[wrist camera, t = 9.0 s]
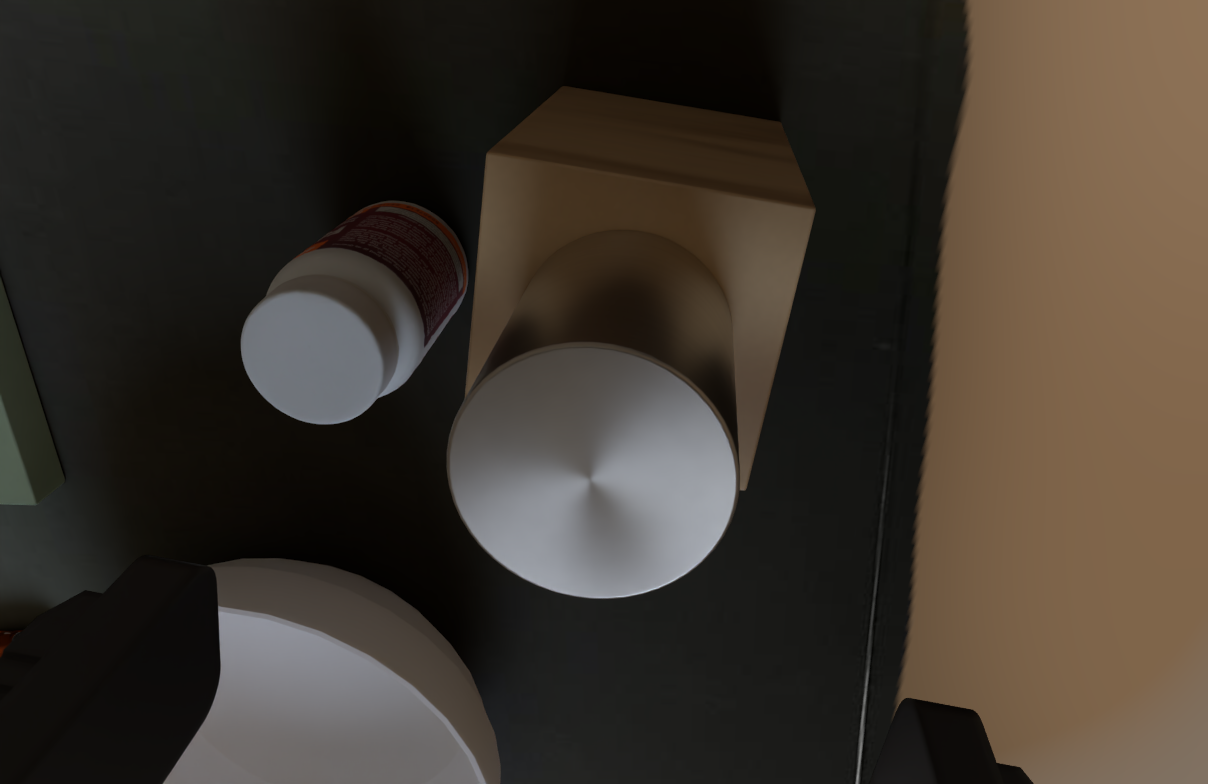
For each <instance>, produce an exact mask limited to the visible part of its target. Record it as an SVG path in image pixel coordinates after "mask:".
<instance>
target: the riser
mask: <svg viewBox="0 0 1208 784" xmlns="http://www.w3.org/2000/svg"><path fill="white" fill-rule="evenodd" d="M815 211H816V209H815V206H814V203H813V201H812V198H811V196H810V193H809V191H808V188H807V186H806V183H805V181H804V179H803V176H802V174H801V171H800V169H799V166H798V164H797V161H796V159H795V156H794V154H793V151H792V149H791V147H790V144H789V142H788V139H787V137H786V134H785V132H784V129H783V127H782V124H781V122H778V121H772V120H766V119H760V118H754V117H748V116H742V115H736V114H730V113H724V112H718V111H712V110H706V109H700V108H694V107H688V106H682V105H676V104H670V103H664V102H658V101H652V100H646V99H640V98H634V97H628V96H622V95H616V94H610V93H604V92H598V91H592V90H586V89H580V88H574V87H568V86H562V87H561V88H560V89H559V90H558V91H557V92H555V93H554V94H553V95H552V96H551V97H550V98H549V99H547V100H546V101H545V102H544V103H543V104H542V105H541V106H539V107H538V108H537V109H536V110H535V111H534V112H533V113H531V114H530V115H529V116H528V117H527V118H526V119H525V120H523V121H522V122H521V123H520V124H519V125H518V126H517V127H515V128H514V129H513V130H512V131H511V132H510V133H509V134H507V135H506V136H505V137H504V138H503V139H502V140H501V141H499V142H498V143H497V144H496V145H495V146H494V147H493V148H491V149H490V150H489V151H488V152H487V154H486V162H485V174H484V185H483V197H482V208H481V219H480V231H479V242H478V253H477V265H476V276H475V288H474V299H473V310H472V322H471V333H470V344H469V356H468V367H467V379H466V390H465V398H466V396H467V394H468V392H469V391H470V389H471V387H472V385H473V384H474V382H475V380H476V378H477V376H478V375H479V373H480V371H481V369H482V367H483V366H484V364H485V362H486V360H487V358H488V357H489V355H490V353H491V351H492V349H493V348H494V346H495V344H496V342H497V340H498V339H499V337H500V335H501V333H502V332H503V330H504V328H505V326H506V324H507V323H508V321H509V319H510V317H511V315H512V314H513V312H514V310H515V308H516V306H517V305H518V303H519V301H520V299H521V297H522V296H523V294H524V292H525V290H526V288H527V287H528V285H529V283H530V281H531V279H532V278H533V277H534V275H535V274H536V272H537V271H538V269H539V268H540V267H541V266H542V265H543V264H544V263H545V261H546V260H547V259H548V258H549V257H551V256H552V255H553V254H554V253H555V252H557V251H558V250H559V249H561V248H562V247H564V246H566V245H567V244H569V243H570V242H572V241H575V240H577V239H579V238H581V237H584V236H587V235H590V234H594V233H597V232H603V231H610V230H634V231H642V232H647V233H651V234H655V235H658V236H661V237H663V238H666V239H669V240H671V241H673V242H675V243H676V244H678V245H680V246H682V247H684V248H685V249H686V250H688V251H689V252H691V253H692V254H693V255H695V256H696V257H697V258H698V259H699V260H700V261H701V262H702V263H703V264H704V265H705V266H706V267H707V268H708V269H709V271H710V272H711V273H712V274H713V275H714V277H715V279H716V280H717V282H718V283H719V285H720V287H721V288H722V291H723V293H724V295H725V298H726V300H727V303H728V306H729V310H730V313H731V321H732V330H733V349H734V368H735V386H736V405H737V424H738V443H739V462H740V490H746V488H747V485H748V481H749V477H750V472H751V468H752V464H753V460H754V456H755V452H756V448H757V444H758V440H759V436H760V432H761V428H762V424H763V420H764V416H765V412H766V408H767V404H768V400H769V396H770V392H771V388H772V384H773V380H774V376H775V372H776V368H777V364H778V360H779V356H780V352H781V348H782V344H783V340H784V336H785V332H786V328H787V324H788V320H789V316H790V312H791V308H792V304H793V300H794V295H795V291H796V287H797V283H798V279H799V275H800V271H801V267H802V263H803V259H804V255H805V251H806V247H807V243H808V239H809V235H810V231H811V227H812V223H813V219H814V215H815Z"/></svg>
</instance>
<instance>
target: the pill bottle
mask: <svg viewBox="0 0 1208 784" xmlns="http://www.w3.org/2000/svg"><path fill="white" fill-rule="evenodd" d="M467 285H468V265H467V259H466V255H465V252H464V250H463V247H462V245H461V243H460V241H459V239H458V237H457V236H456V234H455V233H454V231H453V230H452V229H451V228H450V227H449V226H448V225H447V224H446V222H444V221H443V220H442V219H441V218H440V217H438V216H437V215H435V214H434V213H432V212H431V211H429V210H427V209H425V208H423V207H421V206H419V205H416V204H414V203H409V202H404V201H384V202H379V203H375V204H372V205H370V206H367V207H365V208H363V209H361V210H360V211H358V212H357V213H355V214H354V215H353V216H351V217H349V218H348V219H347V220H346V221H344V222H343V223H342V224H340V225H338V226H337V227H336V228H335V229H333V230H332V231H330V232H329V233H327V234H326V235H325V236H323V237H322V238H321V239H320V240H319V241H317V242H316V243H315V244H313V245H311V246H310V247H309V248H307V249H306V250H304V251H303V252H302V253H301V254H299V255H298V256H297V257H295V258H294V259H293V260H292V261H290V262H289V263H288V264H287V265H286V266H284V267H283V268H282V269H281V271H280V272H279V273H278V274H277V275H276V277H275V278H274V280H273V281H272V283H271V285H270V287H269V289H268V292H267V295H266V297H265V298H264V299H263V300H262V301H260V302H259V303H258V304H257V305H256V306H255V307H254V309H253V310H252V311H251V313H250V314H249V316H248V317H247V319H246V321H245V324H244V327H243V330H242V335H241V355H242V360H243V363H244V367H245V370H246V372H247V374H248V376H249V378H250V380H251V381H252V383H253V385H254V386H255V387H256V389H257V390H258V391H259V393H260V394H261V395H262V396H263V397H264V398H265V399H266V400H267V401H268V402H269V403H271V404H272V405H273V406H274V407H276V408H277V409H278V410H280V411H281V412H283V413H285V414H287V415H289V416H291V417H293V418H295V419H298V420H301V421H304V422H308V423H314V424H336V423H341V422H345V421H348V420H351V419H353V418H355V417H357V416H359V415H360V414H362V413H363V412H365V411H366V410H367V409H368V408H369V407H370V406H371V405H372V404H373V403H374V402H375V400H376V399H377V398H379V397H382V396H384V395H387V394H389V393H391V392H392V391H394V390H396V389H398V388H399V387H400V386H402V385H403V384H404V383H405V382H406V381H407V380H408V379H409V378H410V376H411V375H412V373H413V372H414V370H415V369H416V368H417V367H418V366H419V364H420V363H421V361H422V359H423V358H424V357H425V355H426V353H427V352H428V350H429V349H430V347H431V346H432V345H433V343H434V342H435V340H436V339H437V338H438V336H439V335H440V333H441V332H442V330H443V329H444V328H445V326H446V324H447V323H448V322H449V320H450V319H451V318H452V316H453V315H454V314H455V312H456V311H457V309H458V308H459V306H460V304H461V302H462V300H463V298H464V295H465V293H466V289H467Z"/></svg>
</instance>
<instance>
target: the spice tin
mask: <svg viewBox="0 0 1208 784" xmlns="http://www.w3.org/2000/svg"><path fill="white" fill-rule="evenodd" d="M447 475H448V482H449V487H450V491H451V494H452V498H453V501H454V504H455V506H456V508H457V511H458V513H459V515H460V517H461V519H462V521H463V523H464V524H465V526H466V527H467V529H468V531H469V532H470V534H471V535H472V536H473V537H474V539H475V540H476V541H477V542H478V544H479V545H480V546H481V547H482V548H483V549H484V550H485V551H486V552H487V553H488V554H489V555H490V556H491V557H492V558H493V559H494V560H496V561H497V562H498V563H499V564H501V565H502V566H503V567H505V568H506V569H507V570H509V571H510V572H512V573H514V574H515V575H517V576H519V577H520V578H522V579H524V580H526V581H528V582H530V583H532V584H534V585H536V586H539V587H542V588H545V589H547V590H550V591H553V592H556V593H561V594H565V595H569V596H574V597H582V598H589V599H613V598H625V597H630V596H635V595H640V594H644V593H647V592H650V591H654V590H657V589H660V588H662V587H664V586H666V585H668V584H671V583H673V582H675V581H677V580H678V579H680V578H681V577H683V576H685V575H686V574H688V573H689V572H691V571H692V570H693V569H694V568H696V567H697V566H698V565H699V564H701V563H702V562H703V561H704V560H705V559H706V558H707V557H708V555H709V554H710V553H711V552H712V551H713V550H714V549H715V548H716V546H717V545H718V543H719V542H720V541H721V539H722V538H723V536H724V535H725V533H726V531H727V529H728V527H729V525H730V523H731V521H732V518H733V515H734V512H735V509H736V506H737V502H738V496H739V490H740V462H739V443H738V424H737V405H736V386H735V368H734V349H733V330H732V321H731V313H730V310H729V306H728V303H727V300H726V298H725V295H724V293H723V291H722V288H721V287H720V285H719V283H718V282H717V280H716V279H715V277H714V275H713V274H712V273H711V272H710V271H709V269H708V268H707V267H706V266H705V265H704V264H703V263H702V262H701V261H700V260H699V259H698V258H697V257H696V256H695V255H693V254H692V253H691V252H689V251H688V250H686V249H685V248H684V247H682V246H680V245H678V244H676V243H675V242H673V241H671V240H669V239H666V238H663V237H661V236H658V235H655V234H651V233H647V232H642V231H634V230H610V231H603V232H597V233H594V234H590V235H587V236H584V237H581V238H579V239H577V240H575V241H572V242H570V243H569V244H567V245H566V246H564V247H562V248H561V249H559V250H558V251H557V252H555V253H554V254H553V255H552V256H551V257H549V258H548V259H547V260H546V261H545V263H544V264H543V265H542V266H541V267H540V268H539V269H538V271H537V272H536V274H535V275H534V277H533V278H532V279H531V281H530V283H529V285H528V287H527V288H526V290H525V292H524V294H523V296H522V297H521V299H520V301H519V303H518V305H517V306H516V308H515V310H514V312H513V314H512V315H511V317H510V319H509V321H508V323H507V324H506V326H505V328H504V330H503V332H502V333H501V335H500V337H499V339H498V340H497V342H496V344H495V346H494V348H493V349H492V351H491V353H490V355H489V357H488V358H487V360H486V362H485V364H484V366H483V367H482V369H481V371H480V373H479V375H478V376H477V378H476V380H475V382H474V384H473V385H472V387H471V389H470V391H469V392H468V394H467V396H466V398H465V400H464V401H463V403H462V405H461V407H460V409H459V411H458V413H457V415H456V417H455V419H454V422H453V425H452V428H451V432H450V435H449V440H448V447H447Z"/></svg>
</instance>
